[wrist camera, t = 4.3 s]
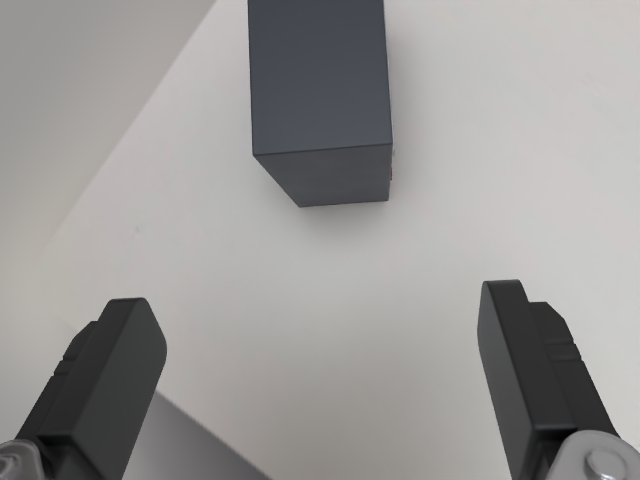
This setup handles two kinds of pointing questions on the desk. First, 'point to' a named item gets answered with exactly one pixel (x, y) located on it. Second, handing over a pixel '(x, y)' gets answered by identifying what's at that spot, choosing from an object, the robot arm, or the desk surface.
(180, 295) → the desk surface
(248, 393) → the desk surface
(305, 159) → the block
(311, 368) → the desk surface
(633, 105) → the desk surface
